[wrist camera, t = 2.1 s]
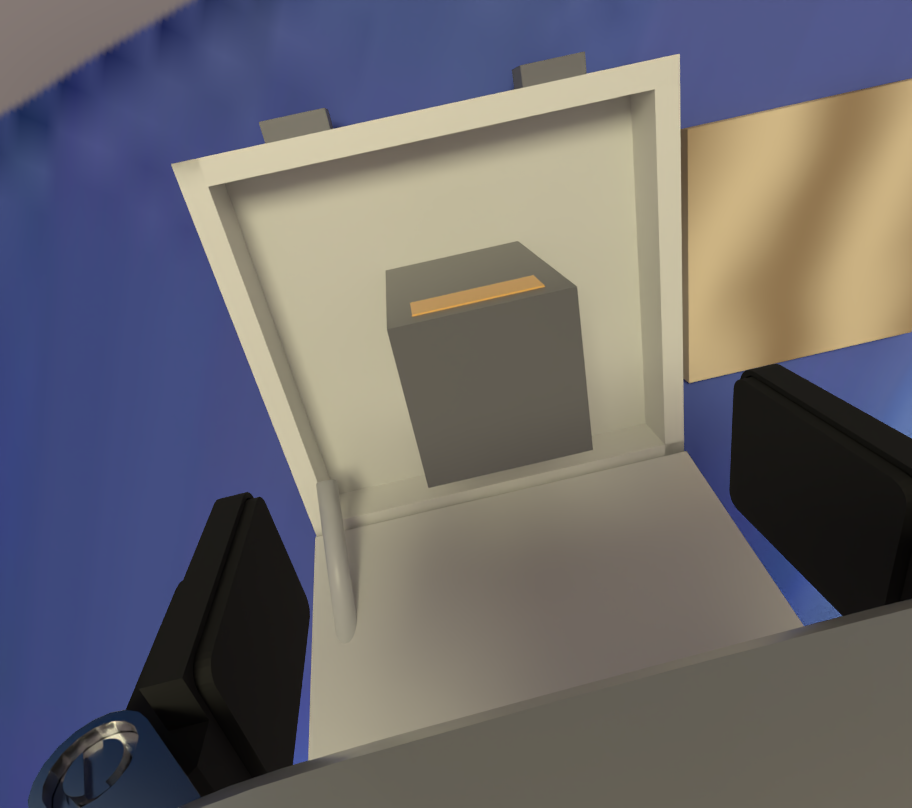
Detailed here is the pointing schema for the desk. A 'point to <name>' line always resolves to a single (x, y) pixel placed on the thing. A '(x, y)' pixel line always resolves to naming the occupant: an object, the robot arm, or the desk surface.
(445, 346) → the block
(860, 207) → the mat
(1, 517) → the desk surface
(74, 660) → the desk surface
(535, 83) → the case
